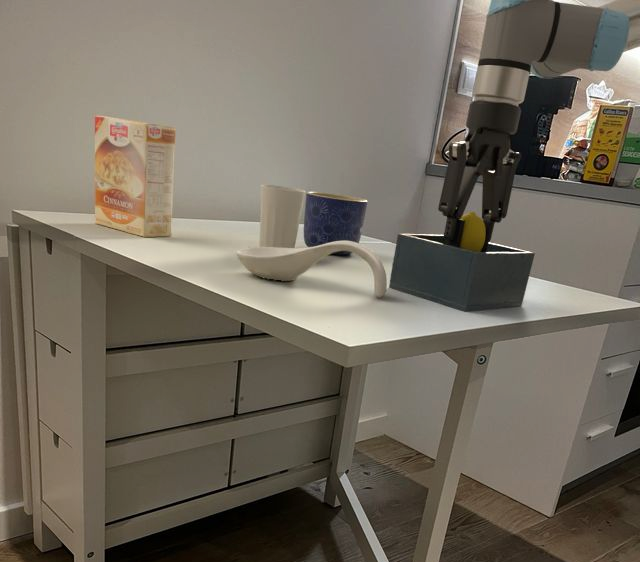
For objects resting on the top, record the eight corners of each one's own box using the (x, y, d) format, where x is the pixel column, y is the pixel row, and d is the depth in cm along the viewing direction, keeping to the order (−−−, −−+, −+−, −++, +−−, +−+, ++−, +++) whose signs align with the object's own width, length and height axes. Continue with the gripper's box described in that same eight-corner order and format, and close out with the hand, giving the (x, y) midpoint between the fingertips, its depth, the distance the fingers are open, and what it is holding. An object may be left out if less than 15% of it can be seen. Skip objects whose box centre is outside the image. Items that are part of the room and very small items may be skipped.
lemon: (441, 261, 105) (452, 209, 102) (448, 258, 110) (459, 208, 107) (476, 268, 103) (487, 215, 100) (481, 264, 108) (493, 213, 105)
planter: (287, 246, 137) (293, 190, 132) (328, 245, 145) (335, 193, 141) (331, 258, 129) (339, 199, 125) (371, 256, 138) (380, 202, 134)
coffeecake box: (93, 223, 130) (93, 114, 123) (123, 223, 136) (124, 119, 128) (143, 237, 122) (145, 122, 115) (172, 236, 128) (177, 126, 120)
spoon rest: (223, 275, 100) (226, 226, 97) (250, 265, 110) (254, 221, 107) (376, 304, 95) (385, 253, 92) (389, 291, 106) (397, 245, 103)
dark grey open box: (521, 306, 109) (535, 253, 105) (465, 311, 99) (478, 253, 95) (446, 284, 119) (457, 235, 116) (388, 287, 109) (397, 233, 105)
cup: (275, 261, 118) (282, 190, 113) (245, 252, 122) (251, 183, 118) (306, 260, 123) (314, 192, 119) (276, 251, 128) (283, 186, 123)
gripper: (518, 110, 106) (484, 258, 114) (433, 91, 95) (404, 255, 104) (556, 112, 100) (518, 267, 109) (470, 92, 90) (436, 265, 99)
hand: (462, 261), depth 107 cm, fingers closed on lemon, 5 cm apart
